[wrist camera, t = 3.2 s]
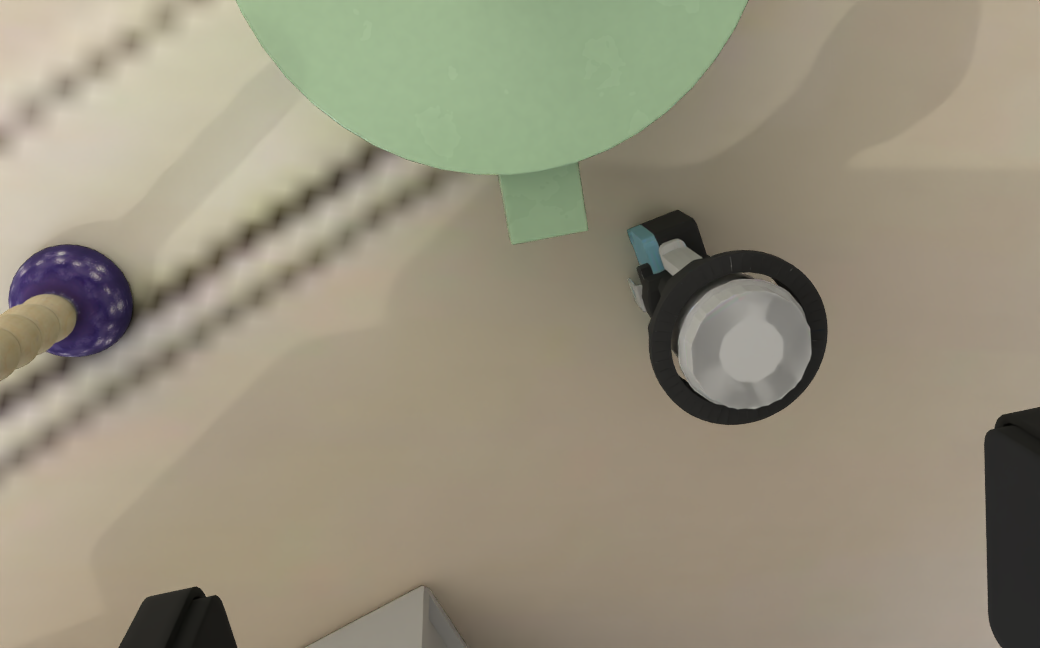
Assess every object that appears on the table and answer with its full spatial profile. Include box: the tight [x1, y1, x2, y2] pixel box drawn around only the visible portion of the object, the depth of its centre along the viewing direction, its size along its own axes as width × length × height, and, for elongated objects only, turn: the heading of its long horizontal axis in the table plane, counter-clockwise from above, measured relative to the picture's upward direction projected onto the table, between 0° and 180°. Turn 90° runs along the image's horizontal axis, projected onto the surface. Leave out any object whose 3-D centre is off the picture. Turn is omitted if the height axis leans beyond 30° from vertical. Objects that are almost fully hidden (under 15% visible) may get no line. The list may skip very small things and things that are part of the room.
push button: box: [627, 210, 827, 425], centre depth 30 cm, size 7×5×10 cm
